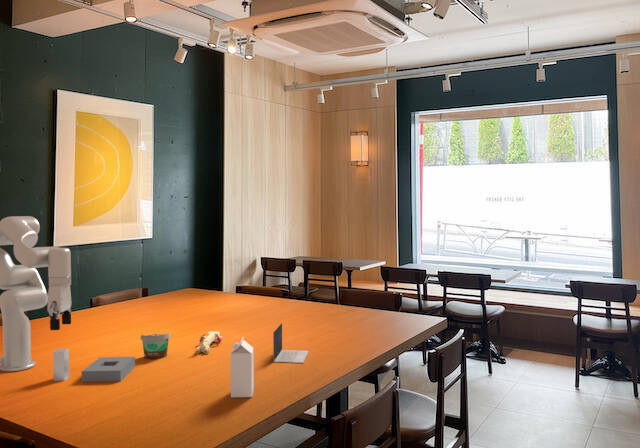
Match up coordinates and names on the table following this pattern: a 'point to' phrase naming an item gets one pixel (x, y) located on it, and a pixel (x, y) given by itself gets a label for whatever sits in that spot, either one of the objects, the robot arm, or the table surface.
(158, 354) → the food container
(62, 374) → the steel pin
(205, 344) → the beige piece
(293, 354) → the laptop
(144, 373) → the table surface
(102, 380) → the block
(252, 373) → the milk carton
